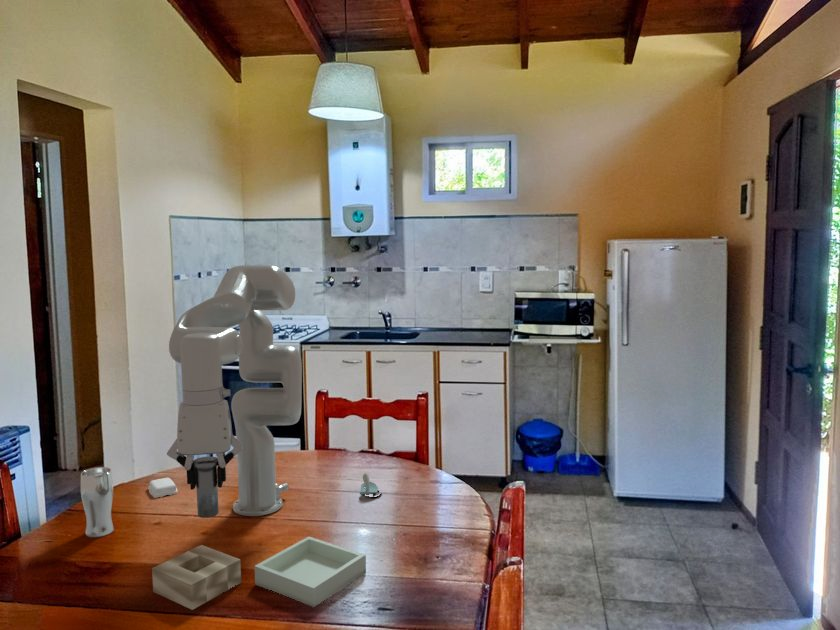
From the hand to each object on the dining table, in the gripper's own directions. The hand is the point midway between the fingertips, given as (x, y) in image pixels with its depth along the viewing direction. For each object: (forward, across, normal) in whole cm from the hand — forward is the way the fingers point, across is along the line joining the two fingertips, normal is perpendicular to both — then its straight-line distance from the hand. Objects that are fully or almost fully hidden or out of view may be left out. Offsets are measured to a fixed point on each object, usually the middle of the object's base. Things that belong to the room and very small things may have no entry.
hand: (207, 485), depth 133 cm
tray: (+21, -20, +1) cm, 29 cm away
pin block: (+21, +3, 0) cm, 21 cm away
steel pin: (+6, 0, 0) cm, 6 cm away
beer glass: (+22, +29, -31) cm, 48 cm away
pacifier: (+22, -37, -42) cm, 60 cm away
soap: (+22, +20, -56) cm, 63 cm away
